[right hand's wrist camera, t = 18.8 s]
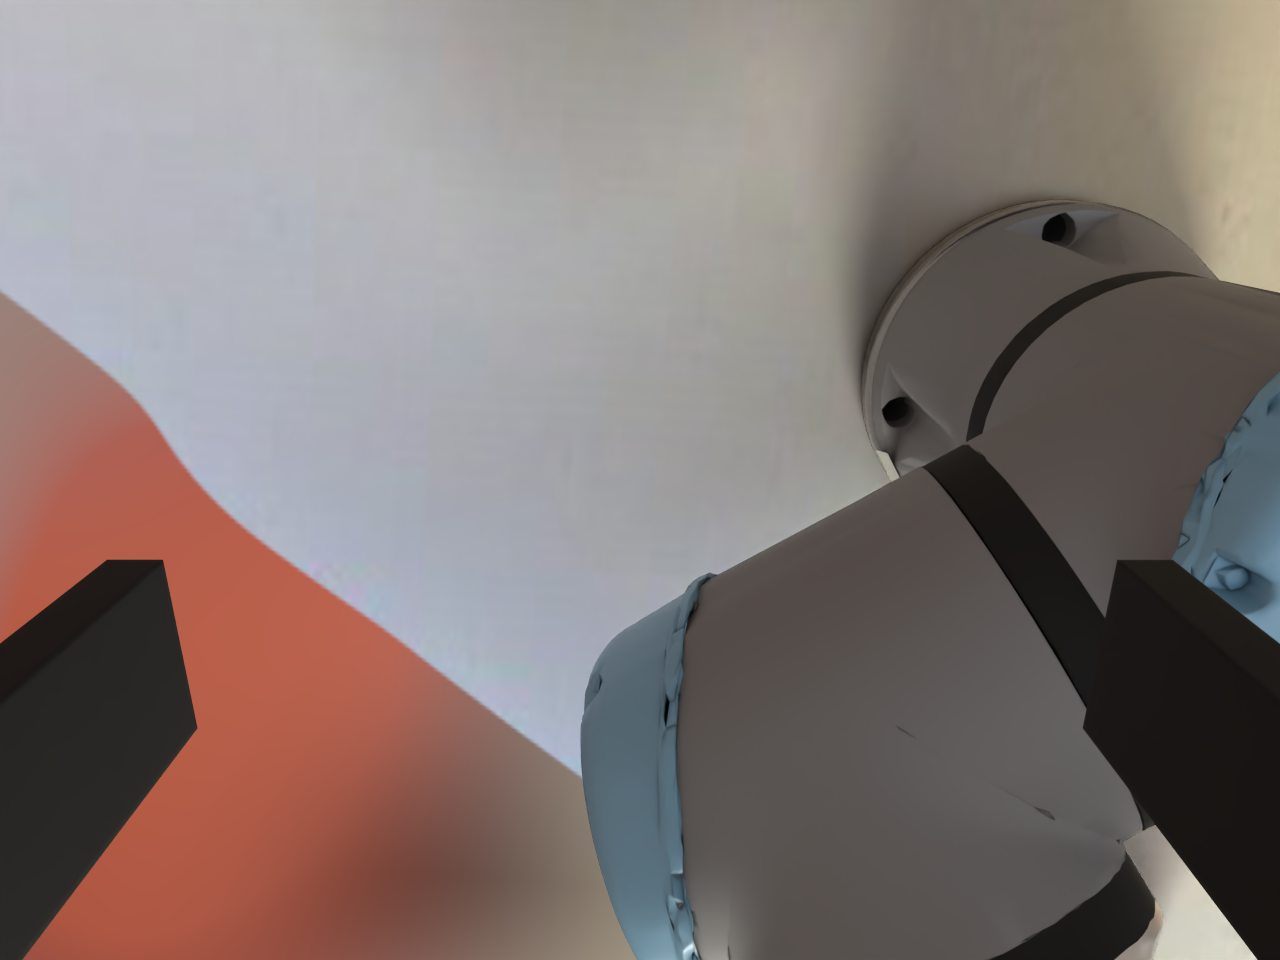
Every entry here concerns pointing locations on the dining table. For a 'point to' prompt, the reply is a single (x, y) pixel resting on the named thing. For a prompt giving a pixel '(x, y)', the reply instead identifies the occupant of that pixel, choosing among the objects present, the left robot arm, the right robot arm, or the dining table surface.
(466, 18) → the dining table surface
